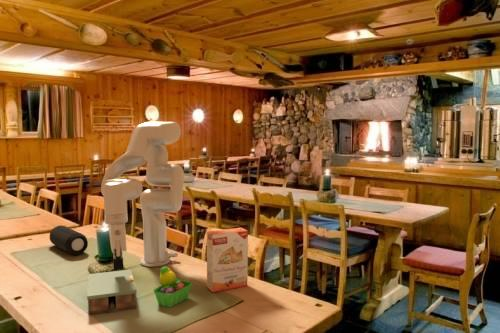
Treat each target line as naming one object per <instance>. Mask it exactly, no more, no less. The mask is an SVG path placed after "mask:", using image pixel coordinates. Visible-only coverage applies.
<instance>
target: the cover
mask: <svg viewBox="0 0 500 333" xmlns="http://www.w3.org/2000/svg"><path fill="white" fill-rule="evenodd" d="M87 276H88V278H87V290H86V291H87V292H86V294H87V295H86V298H87V301H88V299H96V298H103V297H111V296H118V295H126V294H133V293H136V294H137V287H136V283H135V279H134V275H133V272H132V269H121V270H114V271H107V272H106V271H104V272H96V273H89V274H87Z"/></svg>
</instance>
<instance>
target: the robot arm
mask: <svg viewBox="0 0 500 333" xmlns="http://www.w3.org/2000/svg"><path fill="white" fill-rule="evenodd" d="M181 133H182V131H181V126H180V125H179V123H178V122H176V121H146V122H143V123H141V124H138V125H136V126H135V127H134V129H133V132H132V134H131V136H130V140H129V142H128V145H127V148H126V151H125V153H124V154H122V155H121V156H119V157H118V158H117V159H115V160H114V161H113V162H112V163H111V164H110V165H108V167H107V169H106V171H105V172H104V176H103V179H102V181H101V185H100V191H101V192H100V193H101V194H102V196H103V208H104V209H103V210H104V224H106V225H108V233H109V234H108V236H109V242H110V249H111V252H112V253H113V258H112V261H113V270H114V271H122V270H124V257H123V252H127V249H128V248H127V235H126V234H127V233H126V223H128V220H129V218H128V217H129V216H128V201H130V200H131V201H133V200H137V198H139V203H140V209H141V214H142V225H143V226H142V228H143V230H142V233H143V235H142V236H143V257H142V258H141V259H140V260H139V263H140V265H142V266H144V267H164V266H166V265H168V264H169V263H170V262H171V258H177V257H179V253H178V251H175V252H174V251H168V250H167V249H168V248H167V221H166V218H165V216H164V215H163V213H177V212H179V211H180V210H181V208H182V206H183V205H182V204H183V196H184V183H185V181H184V180H185V173H184V169H183V167H182V166H181V165H179V164H175V163H168V162H169V152H168V150H167V148H166V145H171V144H174V143H176V142H178V140H179V139H180V137H181ZM145 164H146V172H145V173H146V174H145V179H146V183H147V184H148V185H150V186H153V187H154V186H155V187H170V189H169V188H168V189H166V188H164V189H163V188H150V189H149V188H148V189H145V190H144V189H143V188H144V187H143V184H142V182H141V181H140V180H139V179H136V178H132V177H131V178H129V177H128V178H125V177H121V176H122V175H123V174H124V173H126V172H128V171H130V170H134V169H136V168H138V167H141V166H143V165H145Z"/></svg>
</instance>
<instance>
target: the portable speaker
mask: <svg viewBox="0 0 500 333" xmlns="http://www.w3.org/2000/svg"><path fill="white" fill-rule="evenodd" d="M49 240H50V242H51V244H53V245H54V246H56V247H57V248H59V249H61V250H63V251H64V252H67V253H69V254H70V255H73V256H76V255H80V254H83V253H84V252H85V251H86V250H87V248H88V245H89V242H88V238H87V236H86V235H85V234H83V233H81V232H78V231H76V230H74V229H72V228H70V227H67V226H65V225H57V226H54V227H53V228H52V229H51V230H50V233H49Z"/></svg>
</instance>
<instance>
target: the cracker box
mask: <svg viewBox="0 0 500 333" xmlns="http://www.w3.org/2000/svg"><path fill="white" fill-rule="evenodd" d="M248 251H249V230H247V229H245V228H243V227H236V228H226V229H218V230H209V231H206V287H207V289H208V290H210V291H211V292H212V293H215V292H216V293H217V292H221V291H228V290H232V289H238V288H243V287H247V286H248V275H249V274H248V273H249V272H248V271H249V270H248V267H249V266H248V265H249V262H248V261H249V260H248V257H249V256H248V255H249V252H248Z"/></svg>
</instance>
